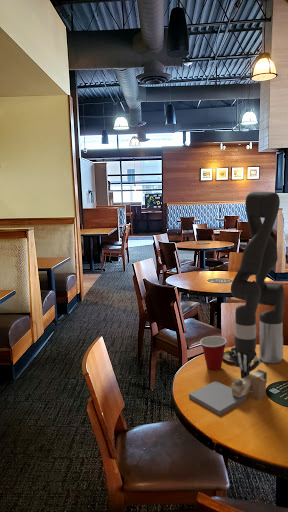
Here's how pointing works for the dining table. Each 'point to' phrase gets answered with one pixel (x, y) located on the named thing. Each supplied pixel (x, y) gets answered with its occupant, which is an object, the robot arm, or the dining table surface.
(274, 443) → the dining table surface
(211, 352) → the plastic cup
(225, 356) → the burger
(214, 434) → the dining table surface
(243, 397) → the grey slab beige block
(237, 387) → the folding leg
